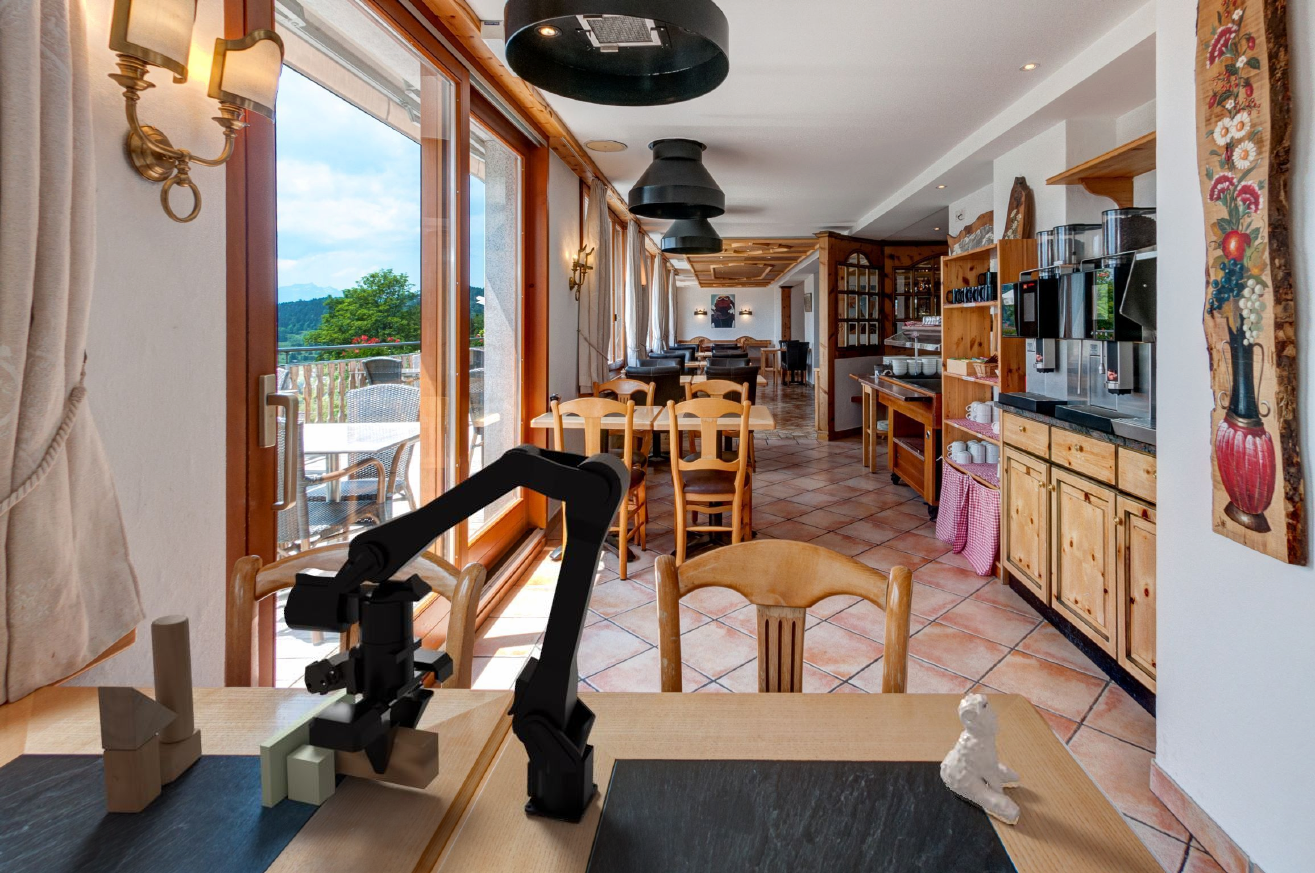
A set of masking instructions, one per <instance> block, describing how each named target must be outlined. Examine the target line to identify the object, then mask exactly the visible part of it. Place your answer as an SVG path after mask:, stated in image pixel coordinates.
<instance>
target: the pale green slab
mask: <svg viewBox="0 0 1315 873" xmlns="http://www.w3.org/2000/svg"><path fill="white" fill-rule="evenodd" d="M333 702H344V703H349V704H356V703H357V702H356V695H349V694H346V688H344V689H340V690H338V692H336V693H335V694H333V695H332V696H330V697H328V698H327V699H326V700H324V701H322V702H321V703H320V704H318V705H317V706H315V707H314V708H313V709H311V710H310V711H308V712H306V713H305V714H304V715H302V716H300V718H298V719H296V720H295V721H293V722H292V723H290V724H288V725H287V726H286V727H284V728H283V729H282V730H280V731H279V732H277V733H276V734H274V735H273V736H272V737H270V738H268V739H267V740H265V741H264V742H263V743H261V744H260V745H259V752H260V753H259V754H260V755H259V756H260V778H261V779H260V780H261V781H260V782H261V800H262V802H261V805H262V806H263V807H267V808H270V809H271V808H273V807H275V805H277V804H278V803H279V802H280V801H283V799H285V798H286V797H287V796H288V800H292V801H296V802H300V803H301V802H302V803H306V804H311V805H315V806H321V805H322V804H323V803H324V802H325V801H326V800H328V799H329V798H330V797H331V796H332V795H333V794H334V793H335V792H336V777H335V776H336V774H335V770H334V750H330V749H325V748H320V747H315V746H313V745H309V731H308V724H309V723H310V722H311V721H312V720H313V716H314V715H315V714H317V713H318V712H320V711H321V710H322V709H324V708H325V707H327V706H328V705H330V704H331V703H333Z"/></svg>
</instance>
